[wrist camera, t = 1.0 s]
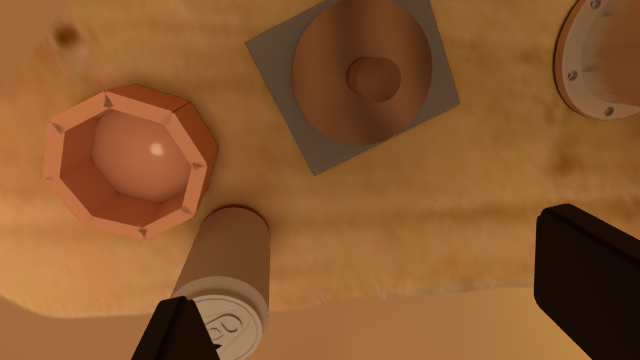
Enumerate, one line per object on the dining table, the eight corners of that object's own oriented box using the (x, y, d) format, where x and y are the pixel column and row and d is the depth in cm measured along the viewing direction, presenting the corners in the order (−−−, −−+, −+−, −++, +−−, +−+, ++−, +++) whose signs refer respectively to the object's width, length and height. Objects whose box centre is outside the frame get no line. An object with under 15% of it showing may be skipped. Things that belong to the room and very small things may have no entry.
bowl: (168, 66, 26) (145, 69, 21) (236, 175, 29) (229, 198, 25) (56, 125, 26) (8, 141, 21) (136, 225, 30) (111, 257, 25)
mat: (412, -45, 25) (415, -47, 24) (456, 102, 29) (460, 103, 29) (245, 42, 26) (244, 42, 25) (313, 173, 30) (314, 176, 30)
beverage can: (185, 226, 30) (133, 326, 19) (245, 190, 30) (228, 272, 19) (227, 275, 33) (202, 389, 22) (283, 242, 32) (288, 343, 21)
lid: (398, -30, 25) (431, -52, 20) (442, 106, 29) (479, 118, 24) (265, 39, 25) (263, 36, 20) (327, 163, 29) (338, 187, 24)
